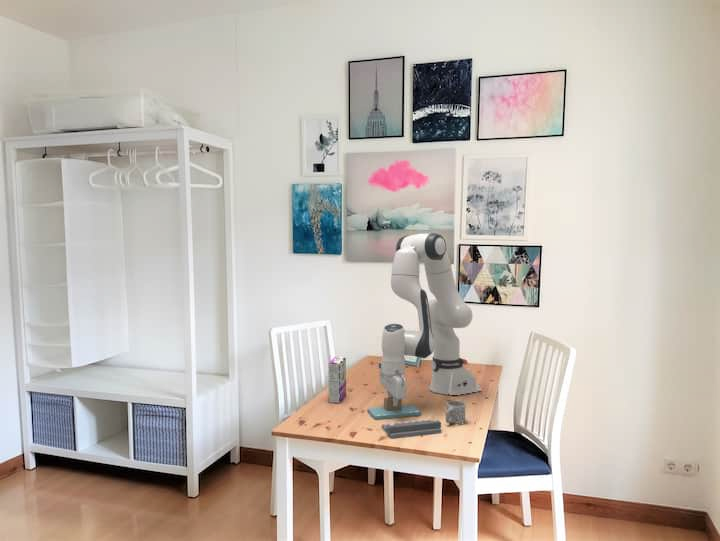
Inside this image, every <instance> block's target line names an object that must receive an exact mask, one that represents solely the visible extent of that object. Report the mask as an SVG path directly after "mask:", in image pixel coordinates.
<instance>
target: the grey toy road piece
mask: <svg viewBox="0 0 720 541" xmlns="http://www.w3.org/2000/svg"><path fill="white" fill-rule="evenodd" d="M441 428H442V422H441V421H440V420H439V419H437V418H433V420H431V419H420V420H412V421H399V422H390V423H382V424H381V429H382V430H383V429H384V430H383V431H384V432H385V433H386V434H387V435H388V437H389V438H390V439H397V438H398V437H399V438H405V436H408V437H415V436H416V435H417V436H424V435H434V434H441V433H442V429H441ZM399 438H398V439H399Z"/></svg>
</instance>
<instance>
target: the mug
mask: <svg viewBox="0 0 720 541" xmlns="http://www.w3.org/2000/svg"><path fill="white" fill-rule="evenodd" d="M464 422H465V423H466V403H465V402H464V401H461V400H449V401H447V402H446V411H445V423H446V424H450V423H451V424H450V425H455V424H460V425H463V424H462V423H464ZM465 423H464V424H465Z"/></svg>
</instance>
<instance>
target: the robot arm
mask: <svg viewBox="0 0 720 541" xmlns="http://www.w3.org/2000/svg"><path fill="white" fill-rule="evenodd" d="M395 250H396V251H395V253H394V256H393V261H392V267H391V276H390V277H391V278H390V287H391V290H392V292H393V293H394V294H395V295H396V296H397V297H398V298H400V299H402V300H405V301H406V302H408V303H410V304H412V305H414V307H415V308H416V310H417V318H418V325H419V326H418V327H419V328H418V329H419V330H418V331H416V330H406V329H405V328H404V326H403V325H402V324H399V323H391V324H387V325H386V326H384V327H383V330H382V336H381V338H382V339H381V353H382V357H381V361H379V362H378V366H377V367H378V369H379V370H378V371H379V383H380V385H381V387H383V388H384V389H385V390H386V393H387V398H391V397H393V401H392V405H393V406H397V405H398V400H399V399H402V400H405V399H406V398H407V397H408V394H407V393H408V391H407V380H406V377H404V374H405V373H406V358H405V356H409V357H415V358H420V359H426V358H428V357H430V356H431V355H432V354H433V356H432V361H431V362H432V363H431V364H432V365H431V366H432V368H431V369H432V375H431V381H430V385H429V387H428V389H429V391H431V392H433V393H435V394H441V395H448V394H449V395H448V396H452V395H458V396H461V395H460V394H464V395H467V394H466V393H470V394H473V393H472V392H476V393H478V392H477V391H481V392H482V391H483V390H482V387H481V386H480V385H479V384H477V379H476V376H475V375H474V373H472V372H471V371H470V370H468V368H466V367H465V366H464V365H467V364H468V360H467V359H465V358H461V357H460V348H461V347H460V343H461V342H460V339H459V337H458V336H457V334H456V333H455V330H454V329H462V328H463V329H465V328H467V327H468V326H469V325H470V324H471V322H472V320H473V312H472V311H473V310H472V309H471V307H470V306H468V305H467V303H466V302H465V301H464V299H463V298H462V296H461V294H460V292H459V291H458V287H457V286H456V283H455V282H456V281H455V278H454V273H453V269H452V264H451V261H450V257H449V254H448V252H447V242H446V240H445V238H444V237H443V235H441V234H439V233H435V232H434V233H433V232H432V233H417V234H412V235H410V234H409V235H408V234H407V235H404V236H402V237H400V238H399V240H398V241H397V243H396V246H395ZM421 262H423V265H424V271H425V277H426V281H427V287H428V289H429V292H430V293H431V295H433V296H434V297H435V298H433V299H428V294H427V291H425V289H423V288H422V285H421V283H420V282H421V281H420V263H421Z"/></svg>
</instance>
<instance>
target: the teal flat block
mask: <svg viewBox="0 0 720 541" xmlns="http://www.w3.org/2000/svg"><path fill="white" fill-rule="evenodd" d="M392 401H393V397H391V398H388V397H383V406H382V407H381V406H380V407H379V406H378V407H367V413H368V414H369V415H370V416H371V417H372V418H373V419H374V420H383V419H394V418H406V417H415V416H421V415H422V413H421V412H422V411H420V410H419V409H418V408H417V407H416V406H414V405H413V404H404V405H403V404H402V401H403V399H399V400H398V405H397V406H393V405H392Z"/></svg>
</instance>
